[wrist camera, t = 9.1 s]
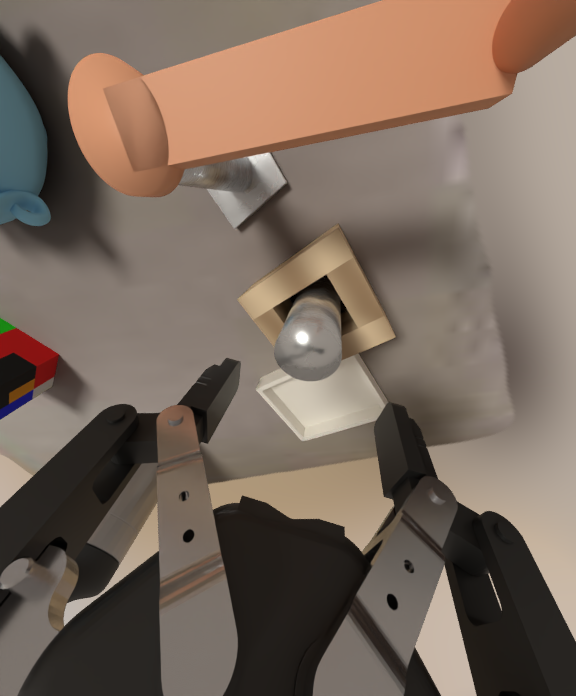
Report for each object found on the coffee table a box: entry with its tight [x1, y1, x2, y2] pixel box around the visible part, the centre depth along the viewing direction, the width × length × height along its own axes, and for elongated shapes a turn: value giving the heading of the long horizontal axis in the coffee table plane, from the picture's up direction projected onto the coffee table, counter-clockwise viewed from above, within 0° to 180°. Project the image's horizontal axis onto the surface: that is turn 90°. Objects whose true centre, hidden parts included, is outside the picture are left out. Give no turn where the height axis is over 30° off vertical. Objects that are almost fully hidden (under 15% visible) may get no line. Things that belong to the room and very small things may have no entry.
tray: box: [256, 354, 389, 441], centre depth 29 cm, size 13×11×2 cm
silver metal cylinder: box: [274, 277, 342, 381], centre depth 19 cm, size 4×4×11 cm
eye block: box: [237, 224, 396, 361], centre depth 22 cm, size 10×10×5 cm
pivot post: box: [178, 152, 288, 229], centre depth 15 cm, size 6×6×11 cm
